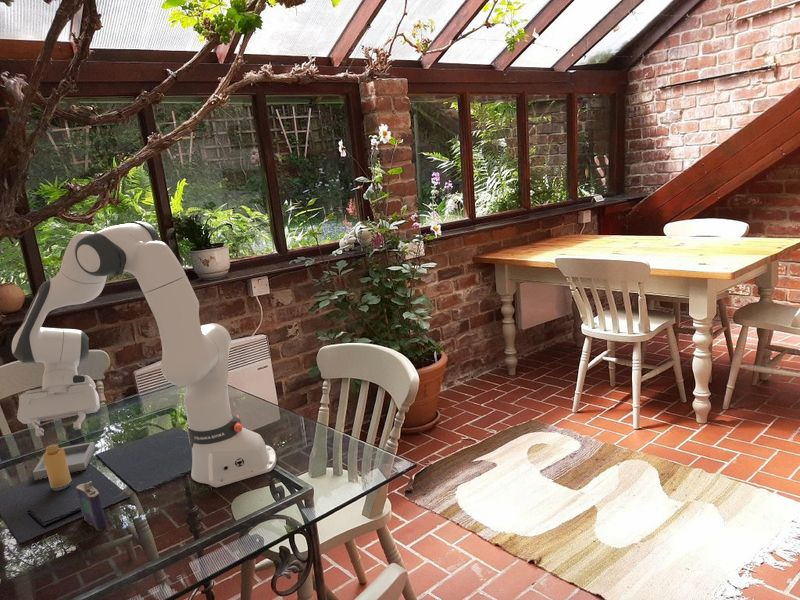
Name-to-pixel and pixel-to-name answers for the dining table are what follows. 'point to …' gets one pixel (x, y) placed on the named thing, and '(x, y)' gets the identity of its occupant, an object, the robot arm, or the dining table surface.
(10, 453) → the dining table surface
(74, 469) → the gray tray
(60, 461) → the amber bottle
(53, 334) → the robot arm
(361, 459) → the dining table surface
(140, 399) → the dining table surface
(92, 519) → the flask
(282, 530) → the dining table surface
